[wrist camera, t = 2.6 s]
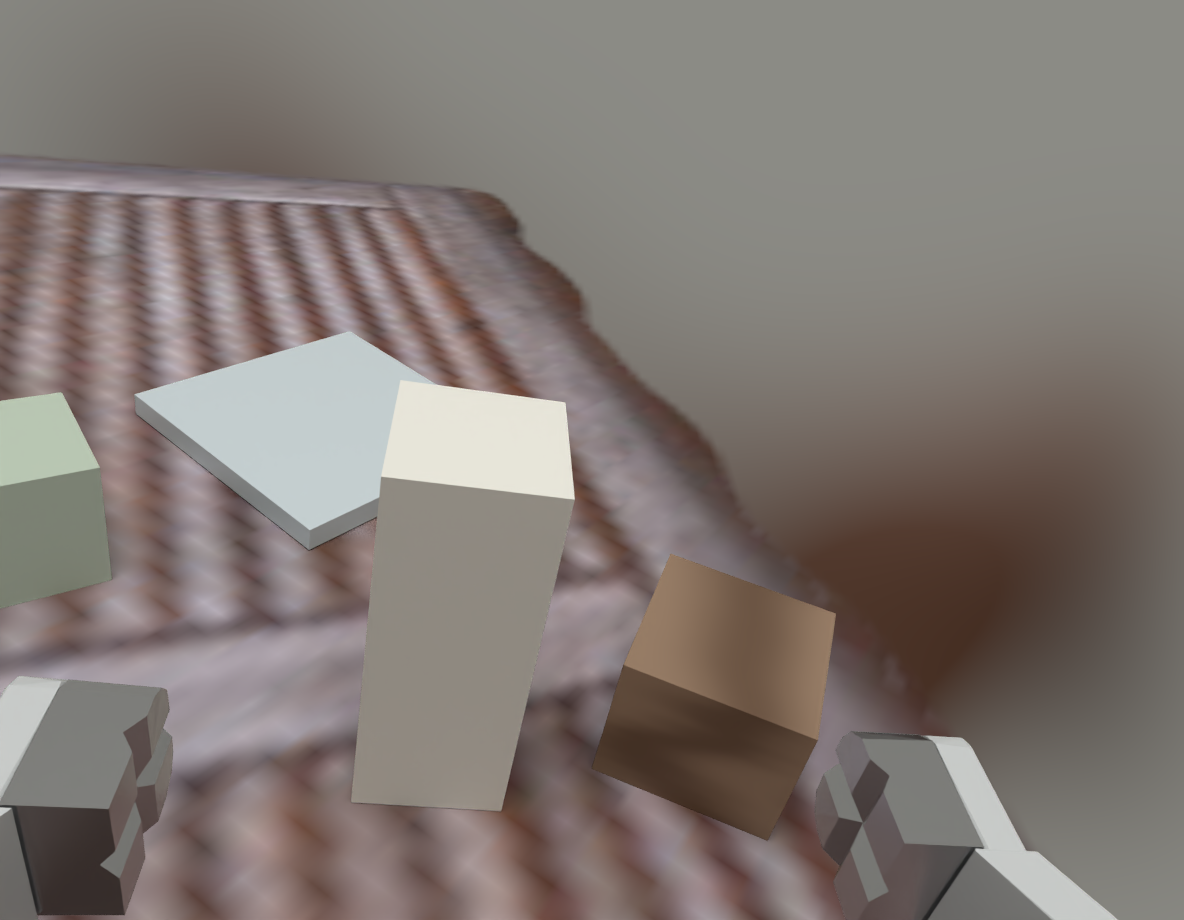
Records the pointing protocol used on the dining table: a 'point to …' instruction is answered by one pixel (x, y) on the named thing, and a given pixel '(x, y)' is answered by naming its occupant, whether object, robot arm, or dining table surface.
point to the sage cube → (48, 503)
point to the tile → (291, 431)
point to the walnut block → (719, 697)
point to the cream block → (459, 592)
